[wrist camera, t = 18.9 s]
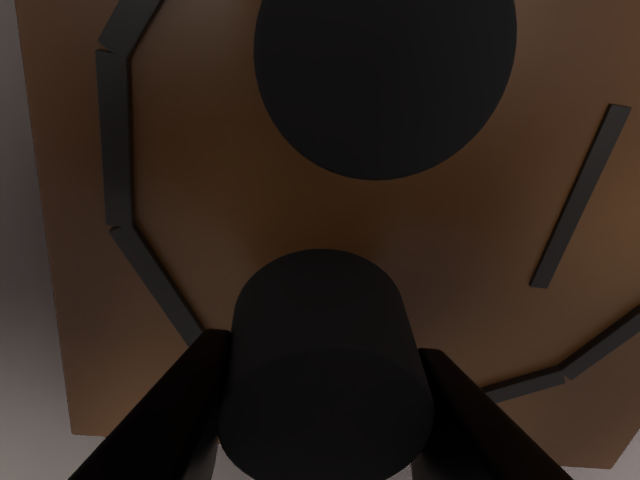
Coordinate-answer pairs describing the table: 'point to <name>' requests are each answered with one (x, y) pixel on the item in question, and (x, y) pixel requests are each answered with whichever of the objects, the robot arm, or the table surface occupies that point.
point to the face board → (342, 209)
